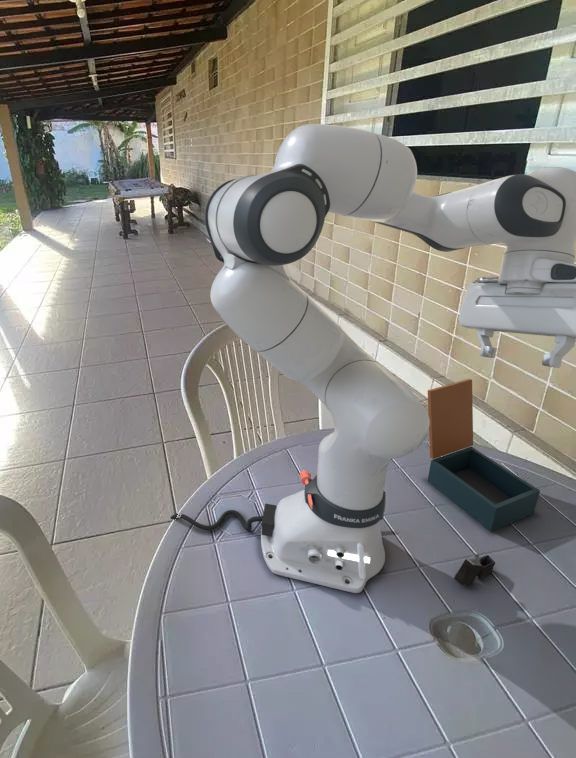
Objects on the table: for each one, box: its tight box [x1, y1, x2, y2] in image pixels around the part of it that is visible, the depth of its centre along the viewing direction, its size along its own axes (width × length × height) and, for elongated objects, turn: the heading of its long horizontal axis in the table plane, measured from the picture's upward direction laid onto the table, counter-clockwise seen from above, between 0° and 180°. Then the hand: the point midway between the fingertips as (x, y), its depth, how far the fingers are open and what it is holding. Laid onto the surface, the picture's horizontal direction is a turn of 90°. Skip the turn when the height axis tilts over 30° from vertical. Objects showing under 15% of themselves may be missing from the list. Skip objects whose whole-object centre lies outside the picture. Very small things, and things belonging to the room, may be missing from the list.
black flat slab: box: [455, 468, 511, 504], centre depth 88 cm, size 11×8×1 cm
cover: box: [427, 378, 474, 460], centre depth 91 cm, size 15×12×1 cm
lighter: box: [453, 553, 496, 586], centre depth 72 cm, size 8×2×5 cm
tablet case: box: [427, 446, 541, 532], centre depth 87 cm, size 15×12×6 cm
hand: (516, 361), depth 66 cm, fingers open, 8 cm apart
